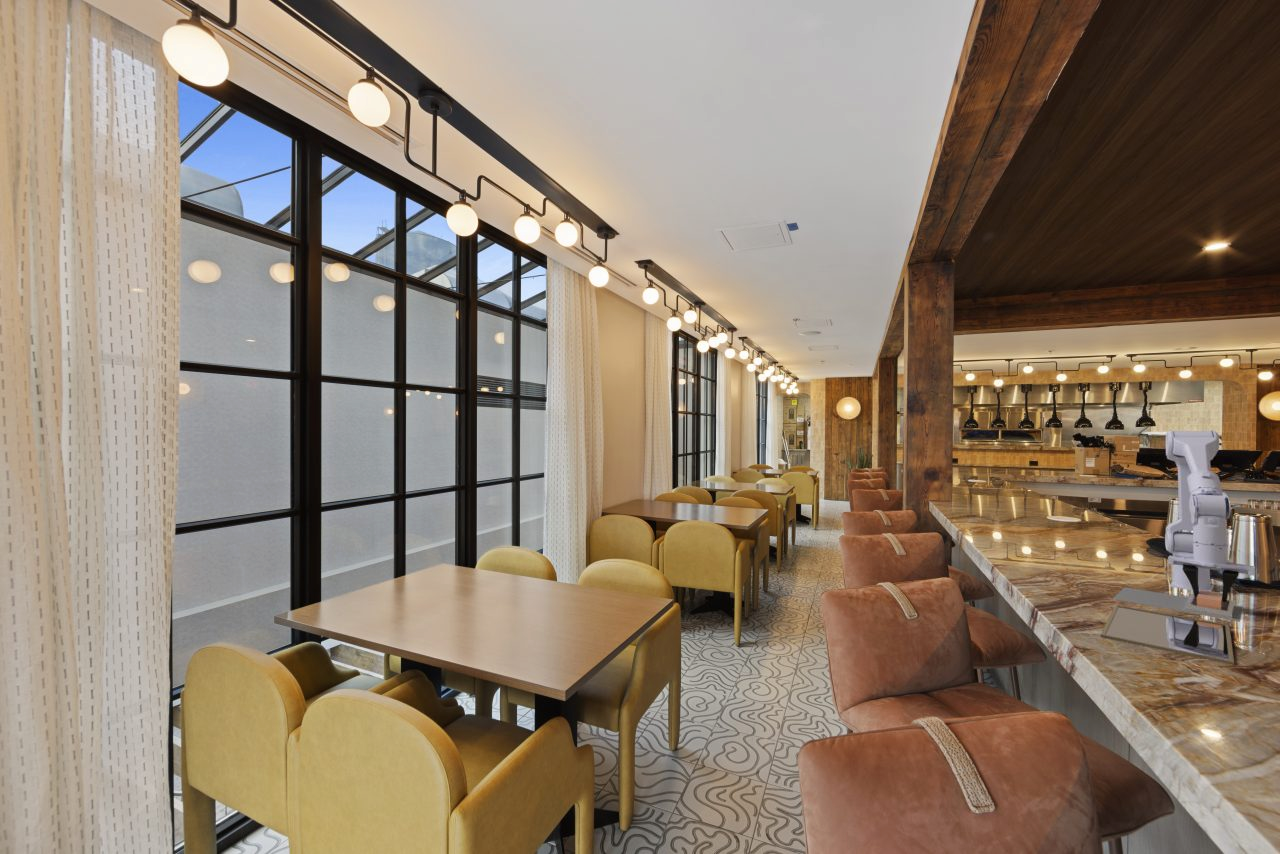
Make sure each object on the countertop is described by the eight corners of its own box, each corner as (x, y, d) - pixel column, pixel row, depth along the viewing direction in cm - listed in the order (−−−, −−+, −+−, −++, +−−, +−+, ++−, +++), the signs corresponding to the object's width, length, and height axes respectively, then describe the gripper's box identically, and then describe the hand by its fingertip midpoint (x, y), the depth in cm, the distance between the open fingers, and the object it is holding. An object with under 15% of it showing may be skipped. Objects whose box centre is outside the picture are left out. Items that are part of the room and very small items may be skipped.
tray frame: (1191, 599, 139) (1191, 593, 139) (1235, 606, 133) (1235, 600, 133) (1185, 610, 131) (1185, 604, 131) (1232, 618, 125) (1231, 612, 125)
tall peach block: (1196, 609, 130) (1196, 597, 130) (1200, 601, 136) (1200, 589, 136) (1221, 613, 127) (1220, 600, 127) (1223, 605, 133) (1223, 593, 133)
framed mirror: (1234, 667, 101) (1229, 629, 120) (1234, 662, 101) (1229, 624, 120) (1100, 639, 115) (1115, 608, 134) (1100, 634, 115) (1115, 604, 134)
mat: (1124, 588, 150) (1124, 587, 150) (1242, 607, 133) (1242, 606, 133) (1112, 599, 140) (1112, 598, 140) (1239, 622, 123) (1239, 621, 123)
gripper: (1166, 541, 135) (1167, 595, 135) (1254, 550, 124) (1254, 609, 124) (1170, 537, 139) (1170, 589, 139) (1255, 546, 128) (1255, 603, 128)
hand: (1210, 598), depth 132 cm, fingers open, 4 cm apart
